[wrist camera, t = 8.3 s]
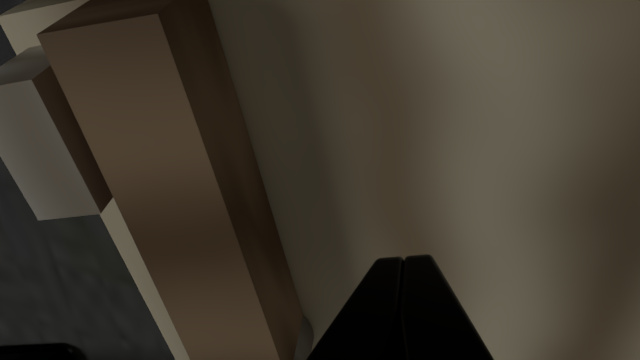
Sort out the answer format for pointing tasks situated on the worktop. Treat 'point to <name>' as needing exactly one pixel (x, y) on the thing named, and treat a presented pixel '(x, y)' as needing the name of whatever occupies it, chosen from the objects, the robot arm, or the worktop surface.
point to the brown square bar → (182, 171)
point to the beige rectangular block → (405, 155)
